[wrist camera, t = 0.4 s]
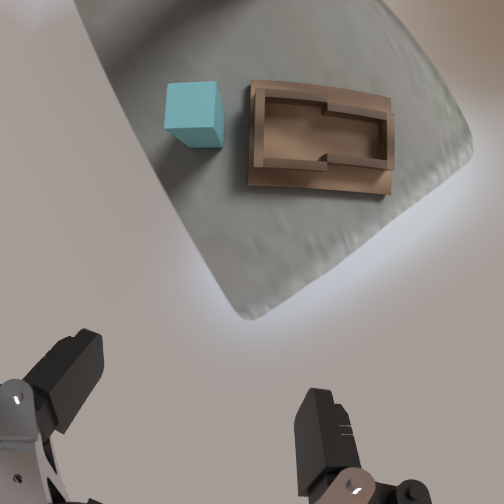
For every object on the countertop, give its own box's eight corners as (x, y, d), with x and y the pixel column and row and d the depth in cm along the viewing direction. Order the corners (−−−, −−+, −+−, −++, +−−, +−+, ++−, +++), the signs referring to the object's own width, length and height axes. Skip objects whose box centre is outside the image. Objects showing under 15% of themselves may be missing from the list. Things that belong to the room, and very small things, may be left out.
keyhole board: (251, 82, 32) (251, 72, 28) (387, 100, 32) (399, 93, 29) (247, 185, 34) (248, 185, 31) (387, 194, 35) (400, 196, 32)
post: (191, 116, 32) (167, 83, 21) (224, 115, 32) (216, 81, 21) (189, 147, 33) (164, 128, 21) (223, 147, 33) (213, 127, 22)
